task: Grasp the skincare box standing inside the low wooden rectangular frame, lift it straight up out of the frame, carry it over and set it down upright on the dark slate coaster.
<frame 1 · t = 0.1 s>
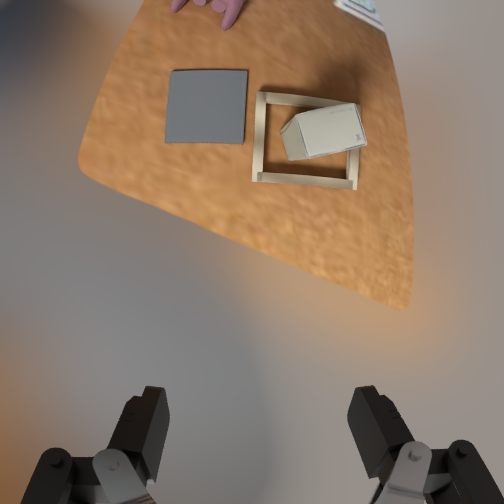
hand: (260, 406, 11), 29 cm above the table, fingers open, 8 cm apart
wooden rectangular frame: (305, 141, 36), on the table
skincare box: (305, 141, 36), resting in wooden rectangular frame
video game controller: (208, 9, 30), on the table
coaster: (206, 106, 34), on the table
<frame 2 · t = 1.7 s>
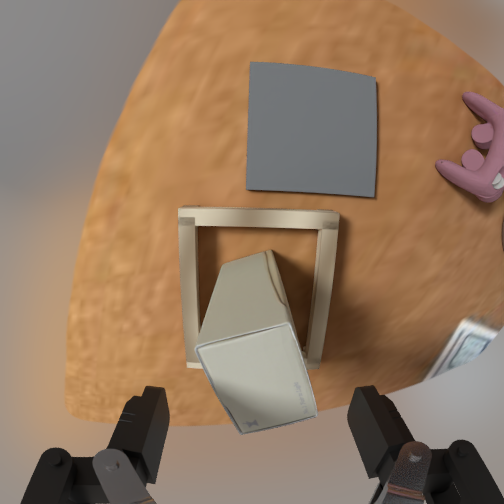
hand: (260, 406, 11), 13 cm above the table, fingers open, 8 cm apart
wooden rectangular frame: (255, 289, 24), on the table
skincare box: (255, 288, 24), resting in wooden rectangular frame
video game controller: (465, 145, 21), on the table
coaster: (314, 127, 21), on the table
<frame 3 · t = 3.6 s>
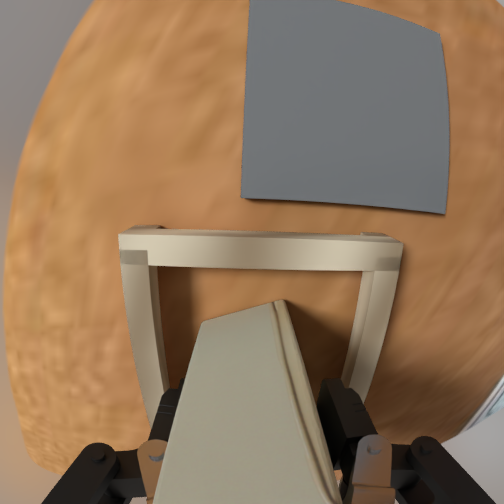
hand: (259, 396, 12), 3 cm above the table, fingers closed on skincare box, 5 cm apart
wooden rectangular frame: (256, 358, 14), on the table
skincare box: (256, 355, 15), resting in wooden rectangular frame, touching gripper
coaster: (357, 95, 11), on the table
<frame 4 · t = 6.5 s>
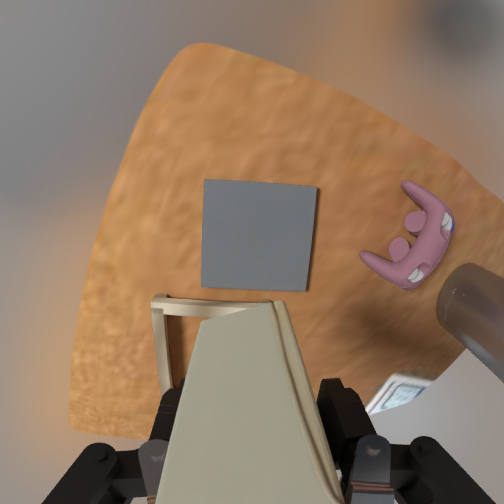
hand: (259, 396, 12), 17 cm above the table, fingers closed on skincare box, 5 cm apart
wooden rectangular frame: (211, 353, 30), on the table
skincare box: (255, 355, 15), point 14 cm above the table, touching gripper
video game controller: (397, 230, 28), on the table
coaster: (257, 236, 27), on the table
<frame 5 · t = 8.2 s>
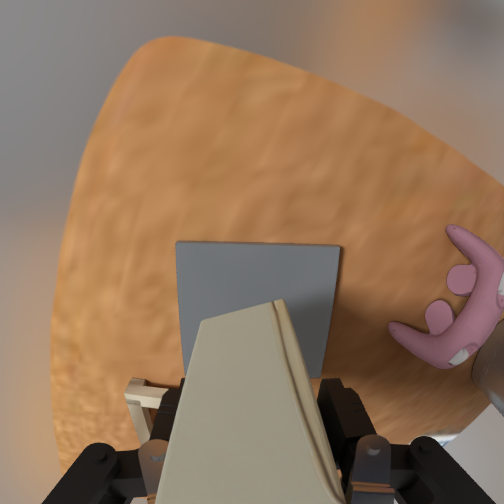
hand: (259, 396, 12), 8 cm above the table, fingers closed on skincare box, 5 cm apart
wooden rectangular frame: (205, 436, 23), on the table
skincare box: (255, 354, 15), point 5 cm above the table, touching gripper
video game controller: (436, 287, 20), on the table
coaster: (255, 316, 19), on the table
when the fingers open (4 cm above the table, at t = 9.6 s): skincare box stays where it is, resting on coaster.
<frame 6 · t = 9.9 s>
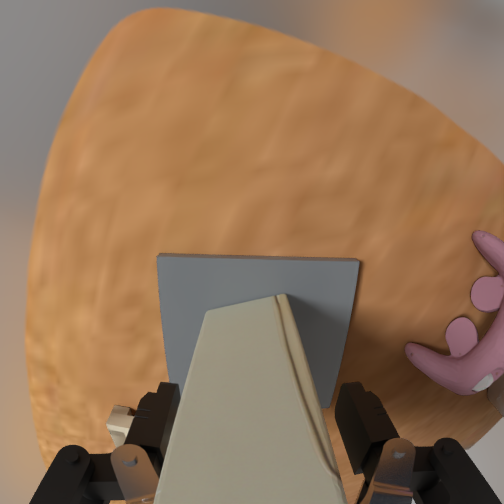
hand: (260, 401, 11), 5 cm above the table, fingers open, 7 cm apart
wooden rectangular frame: (199, 465, 19), on the table
skincare box: (255, 346, 15), resting on coaster
video game controller: (458, 302, 16), on the table
coaster: (255, 342, 16), on the table
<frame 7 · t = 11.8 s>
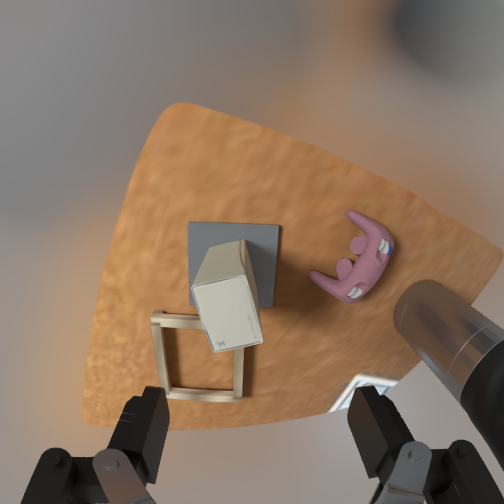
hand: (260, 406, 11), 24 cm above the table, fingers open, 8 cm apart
wooden rectangular frame: (200, 356, 38), on the table
skincare box: (232, 266, 34), resting on coaster
video game controller: (344, 251, 35), on the table
coaster: (232, 265, 34), on the table
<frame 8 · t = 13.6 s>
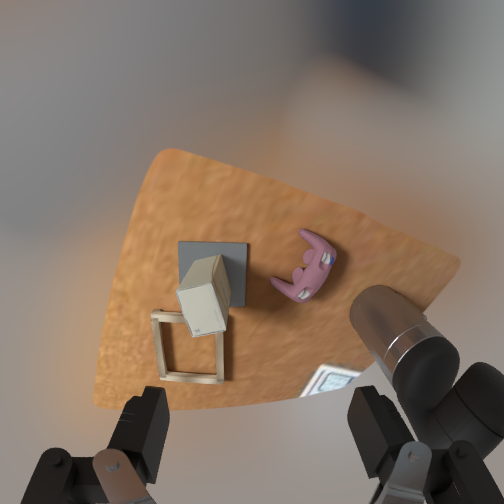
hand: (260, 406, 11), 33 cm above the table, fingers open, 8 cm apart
wooden rectangular frame: (190, 345, 47), on the table
skincare box: (212, 275, 44), resting on coaster
video game controller: (299, 261, 44), on the table
coaster: (212, 274, 44), on the table
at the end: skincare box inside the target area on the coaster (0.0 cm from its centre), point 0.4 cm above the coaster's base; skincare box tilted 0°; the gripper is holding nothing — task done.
